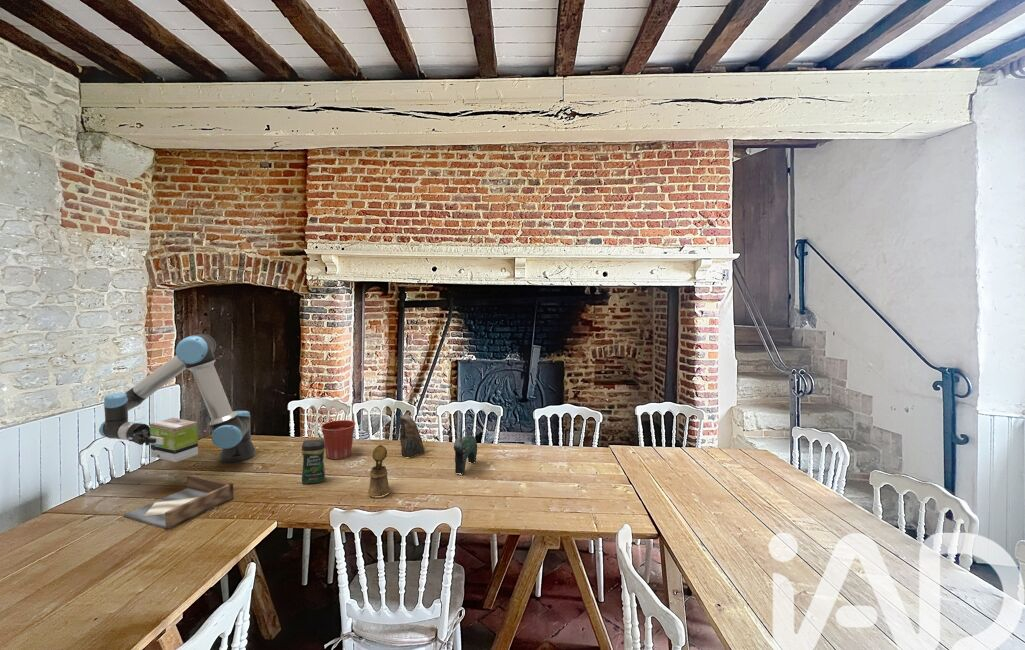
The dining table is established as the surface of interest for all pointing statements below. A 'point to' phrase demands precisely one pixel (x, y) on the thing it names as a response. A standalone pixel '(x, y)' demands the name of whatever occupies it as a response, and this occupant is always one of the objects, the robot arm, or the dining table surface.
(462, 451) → the ceramic cat
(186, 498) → the wooden tray
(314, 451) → the coffee jar
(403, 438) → the owl
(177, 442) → the tea box
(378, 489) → the brown bell
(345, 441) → the flower pot
